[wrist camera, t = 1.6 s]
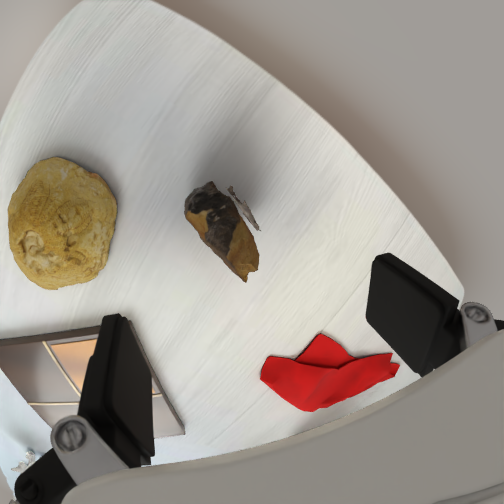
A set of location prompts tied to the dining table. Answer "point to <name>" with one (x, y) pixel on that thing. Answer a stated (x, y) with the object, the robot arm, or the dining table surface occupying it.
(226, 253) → the rock
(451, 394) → the robot arm
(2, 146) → the dining table surface
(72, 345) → the board
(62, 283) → the fossil
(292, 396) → the cloth
